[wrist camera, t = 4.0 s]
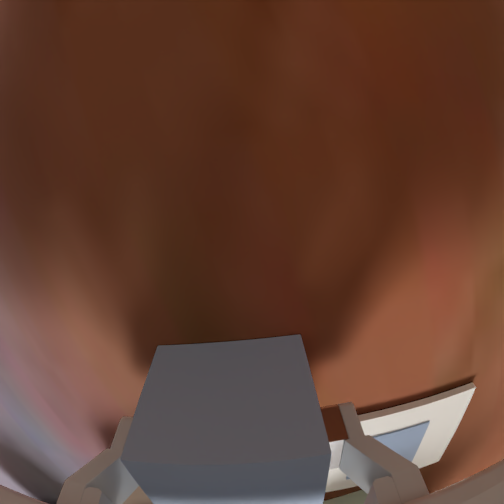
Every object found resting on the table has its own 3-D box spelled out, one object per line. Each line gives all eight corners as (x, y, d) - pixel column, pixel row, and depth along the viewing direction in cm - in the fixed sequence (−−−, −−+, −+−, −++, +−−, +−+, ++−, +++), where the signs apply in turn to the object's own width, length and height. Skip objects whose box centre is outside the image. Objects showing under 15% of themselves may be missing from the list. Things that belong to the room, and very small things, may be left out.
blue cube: (300, 333, 11) (331, 453, 6) (301, 424, 12) (318, 522, 8) (157, 345, 11) (120, 459, 6) (187, 432, 13) (175, 528, 8)
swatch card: (472, 382, 12) (476, 388, 12) (436, 457, 15) (439, 462, 14) (301, 424, 12) (302, 433, 12) (300, 490, 15) (301, 497, 14)
